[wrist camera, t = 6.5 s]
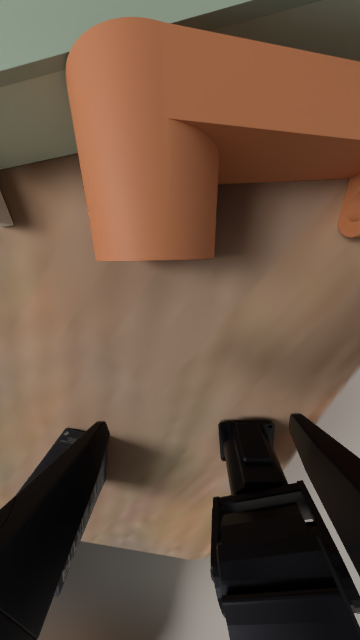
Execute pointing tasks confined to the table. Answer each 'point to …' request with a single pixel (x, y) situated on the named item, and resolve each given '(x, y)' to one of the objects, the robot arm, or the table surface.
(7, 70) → the chute mount
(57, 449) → the small box
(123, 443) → the table surface
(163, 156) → the crank
